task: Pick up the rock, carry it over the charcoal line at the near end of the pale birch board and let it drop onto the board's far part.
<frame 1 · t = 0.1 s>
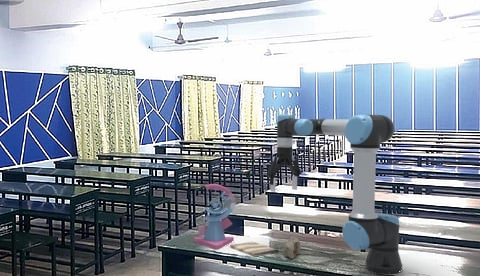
hand: (283, 190, 245), 28 cm above the table, tool pointing down, fingers open, 13 cm apart
rock: (290, 256, 231), on the table
trophy: (214, 243, 253), on the table
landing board: (253, 249, 242), on the table
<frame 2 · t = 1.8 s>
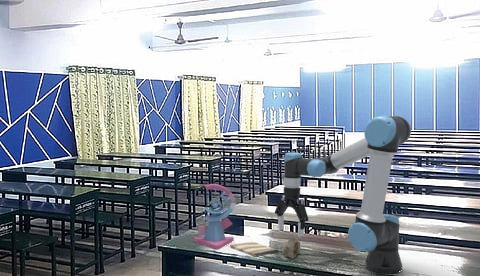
hand: (290, 233, 231), 10 cm above the table, tool pointing down, fingers open, 13 cm apart
nothing on the table moved.
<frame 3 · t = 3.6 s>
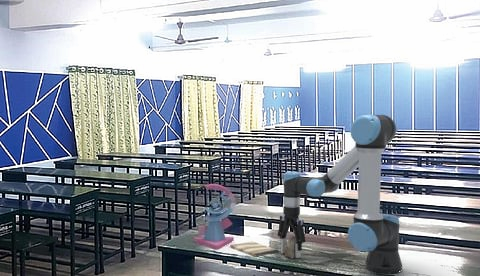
hand: (290, 254, 232), 0 cm above the table, tool pointing down, fingers closed on rock, 9 cm apart
rock: (291, 256, 232), on the table, touching gripper
everything else where it was.
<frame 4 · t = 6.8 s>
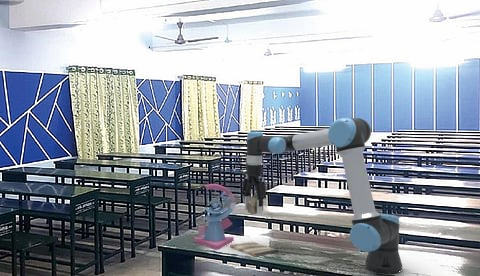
hand: (253, 211, 242), 18 cm above the table, tool pointing down, fingers closed on rock, 9 cm apart
rock: (253, 213, 242), point 17 cm above the table, touching gripper
everything else where it was.
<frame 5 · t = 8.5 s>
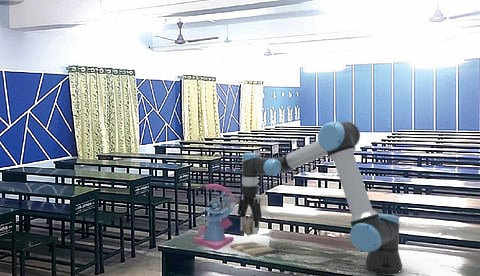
hand: (249, 232, 243), 8 cm above the table, tool pointing down, fingers closed on rock, 9 cm apart
rock: (249, 233, 243), point 7 cm above the table, touching gripper
everything else where it was.
when the fingers open (4 cm above the table, at t = 10.0 s): rock drops 3 cm, resting on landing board.
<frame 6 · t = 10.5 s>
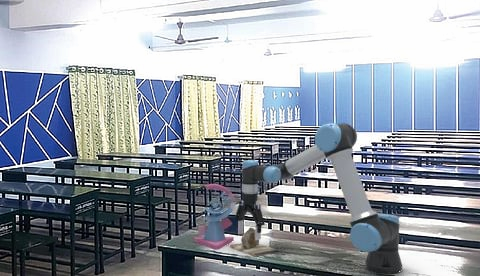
hand: (249, 236, 243), 6 cm above the table, tool pointing down, fingers open, 13 cm apart
rock: (248, 246, 244), point 1 cm above the table, touching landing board
everything else where it was.
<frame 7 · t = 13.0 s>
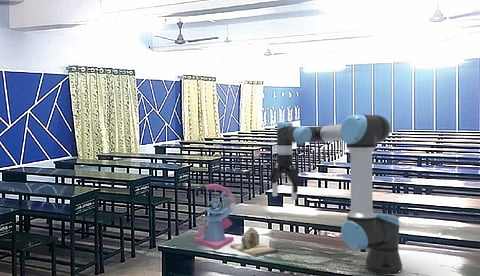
hand: (284, 197, 247), 24 cm above the table, tool pointing down, fingers open, 13 cm apart
nothing on the table moved.
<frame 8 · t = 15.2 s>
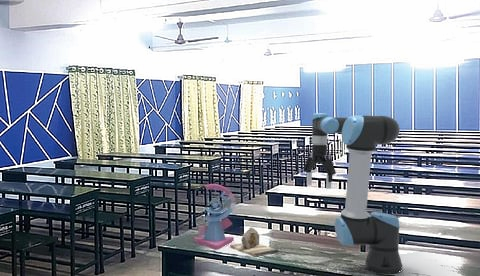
hand: (318, 186, 253), 29 cm above the table, tool pointing down, fingers open, 13 cm apart
nothing on the table moved.
at the end: rock inside the target area (0.4 cm from its centre), point 0.8 cm above the table; rock touching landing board; the gripper is holding nothing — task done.
